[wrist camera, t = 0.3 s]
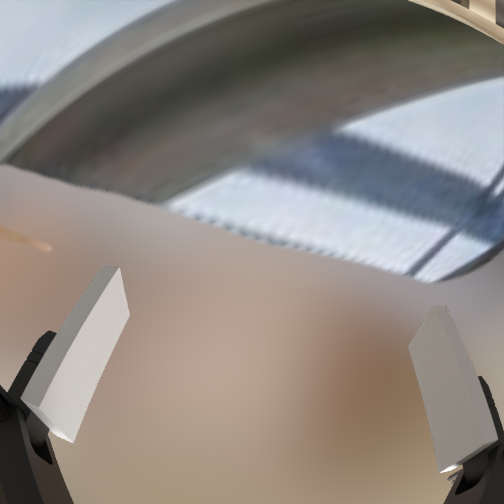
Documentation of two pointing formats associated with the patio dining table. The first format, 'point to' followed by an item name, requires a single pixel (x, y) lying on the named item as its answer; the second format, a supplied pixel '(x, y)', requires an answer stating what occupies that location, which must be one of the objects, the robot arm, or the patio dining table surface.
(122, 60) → the patio dining table surface
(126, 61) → the patio dining table surface
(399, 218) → the patio dining table surface
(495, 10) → the square hole board
